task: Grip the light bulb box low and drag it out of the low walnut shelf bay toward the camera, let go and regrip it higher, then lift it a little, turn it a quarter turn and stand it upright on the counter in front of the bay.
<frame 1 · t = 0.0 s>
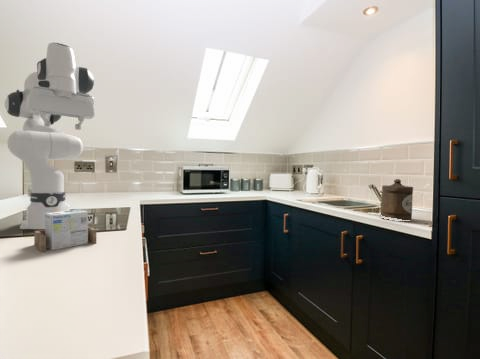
hand: (63, 127, 98), 39 cm above the counter, tool pointing down, fingers open, 8 cm apart
wooden container: (395, 219, 152), on the counter
shelf bay: (64, 243, 91), on the counter
light bulb box: (67, 245, 89), on the counter
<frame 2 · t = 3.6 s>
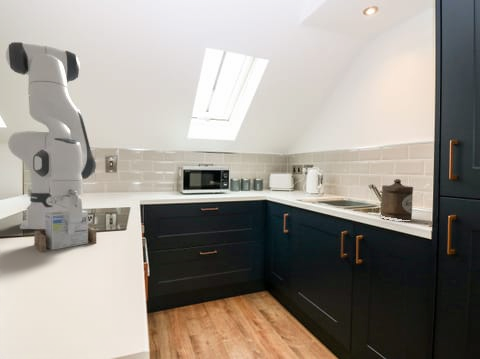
hand: (66, 232, 89), 4 cm above the counter, tool pointing down, fingers closed on light bulb box, 7 cm apart
light bulb box: (67, 245, 89), on the counter, touching gripper
everything else where it was.
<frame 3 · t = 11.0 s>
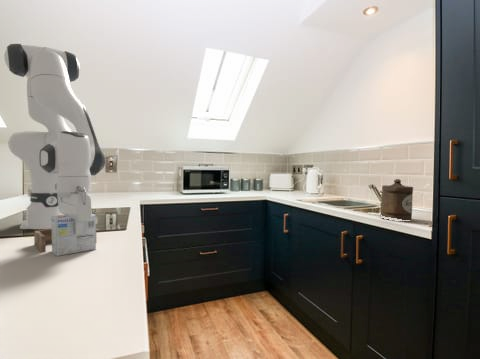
hand: (74, 231, 83), 6 cm above the counter, tool pointing down, fingers closed on light bulb box, 7 cm apart
light bulb box: (74, 251, 84), on the counter, touching gripper
everything else where it was.
when the fingers open (7 cm above the counter, at t = 15.5 s): light bulb box stays where it is, on the counter.
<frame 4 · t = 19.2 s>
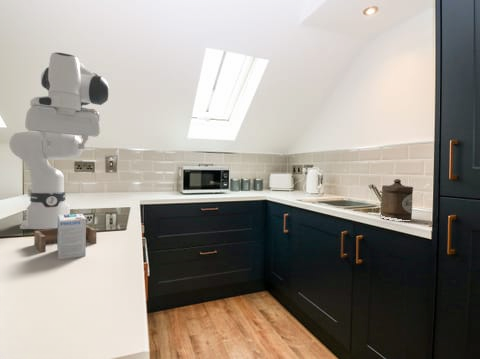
hand: (65, 148, 89), 31 cm above the counter, tool pointing down, fingers open, 8 cm apart
light bulb box: (71, 253, 81), on the counter
everything else where it was.
at the end: light bulb box inside the target area (1.3 cm from its centre), on the counter; light bulb box tilted 0°; the gripper is holding nothing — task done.
